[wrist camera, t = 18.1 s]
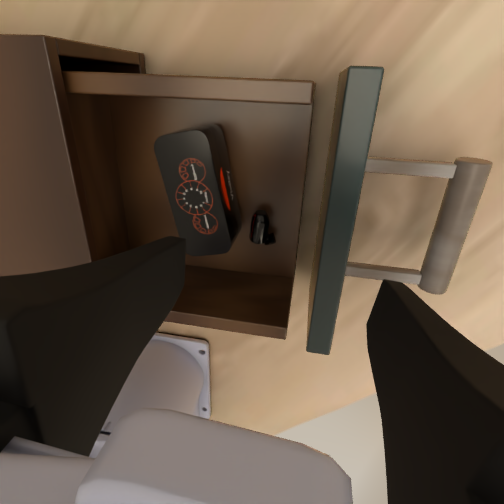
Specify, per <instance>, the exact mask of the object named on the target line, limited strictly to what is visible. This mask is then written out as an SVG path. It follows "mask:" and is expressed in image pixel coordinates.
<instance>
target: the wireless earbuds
mask: <svg viewBox="0 0 504 504" xmlns="http://www.w3.org/2000/svg"><path fill="white" fill-rule="evenodd" d="M154 152H155V155H156V158H157V162H158V165H159V169H160V172H161V176H162V179H163V182H164V186H165V189H166V193H167V196H168V200H169V203H170V206H171V210H172V213H173V217H174V220H175V224H176V227H177V230H178V234H179V237H180V238H184V239H186V253H187V254H189V255H191V256H206V255H219V254H225V253H227V252H228V251H229V250H230V249H231V247H232V245H233V243H234V242H235V240H236V238H237V236H238V234H239V232H240V231H241V228H242V222H241V217H240V212H239V207H238V202H237V197H236V192H235V187H234V182H233V177H232V172H231V167H230V163H229V158H228V153H227V148H226V143H225V138H224V134H223V131H222V129H221V128H220V127H219V126H217V125H215V124H207V125H202V126H196V127H191V128H186V129H181V130H178V131H175V132H172V133H168V134H165V135H162V136H160V137H158V138H157V139H156V141H155V143H154ZM269 224H270V220H269V216H268V214H267V213H266V211H264V210H256V211H255V213H254V214H253V215H252V218H251V225H250V233H249V239H250V241H251V242H253V243H255V244H263V243H264V244H265V245H271V244H274V243H276V239H275V235H274V233H270V234H268V230H269Z"/></svg>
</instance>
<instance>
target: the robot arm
mask: <svg viewBox="0 0 504 504" xmlns="http://www.w3.org/2000/svg"><path fill="white" fill-rule="evenodd" d="M185 256H186V239H184V238H179V237H174V236H167V237H164V238H161V239H158V240H155V241H153V242H150V243H147V244H145V245H142V246H139V247H136V248H134V249H131V250H128V251H125V252H122V253H119V254H116V255H113V256H110V257H107V258H104V259H101V260H97V261H94V262H90V263H86V264H81V265H77V266H73V267H68V268H62V269H56V270H50V271H44V272H38V273H29V274H20V275H9V276H0V504H353V500H352V487H351V478H350V477H349V476H348V475H347V474H346V473H345V472H344V470H343V469H342V468H341V467H340V466H339V465H338V464H337V463H336V462H335V461H334V459H333V458H331V457H330V456H329V455H327V454H325V453H322V452H320V451H318V450H316V449H313V448H311V447H309V446H307V445H305V444H302V443H298V442H294V441H291V440H287V439H283V438H279V437H275V436H272V435H268V434H264V433H260V432H256V431H252V430H248V429H245V428H241V427H237V426H233V425H229V424H225V423H221V422H217V421H214V420H210V419H209V418H210V416H211V400H210V365H209V344H208V343H207V342H206V341H204V340H199V339H193V338H187V337H180V336H174V335H168V334H162V333H156V331H157V330H158V329H159V327H160V326H161V324H162V323H163V321H164V320H165V318H166V317H167V316H168V314H169V313H170V311H171V310H172V308H173V307H174V305H175V303H176V301H177V299H178V297H179V295H180V293H181V291H182V289H183V287H184V282H185ZM366 325H367V345H368V353H369V358H370V363H371V368H372V373H373V378H374V382H375V387H376V392H377V396H378V401H379V406H380V412H381V418H382V427H383V438H384V449H385V462H386V476H387V494H388V504H504V365H503V364H501V363H500V362H498V361H497V360H496V359H494V358H493V357H491V356H490V355H488V354H487V353H486V352H484V351H483V350H481V349H480V348H479V347H477V346H476V345H474V344H473V343H472V342H471V341H469V340H468V339H467V338H465V337H464V336H463V335H462V334H460V333H459V332H458V331H457V330H456V329H454V328H453V327H452V326H451V325H450V324H448V323H447V322H446V321H445V320H444V319H443V318H441V317H440V316H439V315H438V314H437V313H436V312H435V311H434V310H433V309H431V308H430V307H429V306H428V305H427V304H426V303H425V302H424V301H423V300H422V299H421V298H419V297H418V296H417V295H416V294H415V293H414V292H413V291H412V290H411V289H409V288H408V287H407V286H406V285H405V284H403V283H402V282H397V281H392V280H387V279H383V282H382V284H381V287H380V290H379V292H378V295H377V298H376V300H375V303H374V306H373V308H372V311H371V314H370V316H369V319H368V322H367V324H366ZM202 350H204V351H202Z"/></svg>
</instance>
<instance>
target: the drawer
mask: <svg viewBox="0 0 504 504" xmlns="http://www.w3.org/2000/svg"><path fill="white" fill-rule="evenodd" d="M61 72H62V77H63V82H64V87H65V92H66V97H67V102H68V107H69V113H70V118H71V123H72V128H73V133H74V138H75V143H76V148H77V153H78V158H79V163H80V168H81V173H82V178H83V184H84V189H85V194H86V199H87V204H88V209H89V214H90V219H91V224H92V229H93V234H94V239H95V244H96V249H97V255H98V260H101V259H104V258H107V257H110V256H113V255H116V254H119V253H122V252H125V251H128V250H131V249H134V248H136V247H139V246H142V245H145V244H147V243H150V242H153V241H155V240H158V239H161V238H164V237H167V236H174V237H179V234H178V230H177V227H176V224H175V220H174V217H173V213H172V210H171V206H170V203H169V200H168V196H167V193H166V189H165V186H164V182H163V179H162V176H161V172H160V169H159V165H158V162H157V158H156V155H155V152H154V143H155V141H156V139H157V138H158V137H160V136H162V135H165V134H168V133H172V132H175V131H178V130H181V129H186V128H191V127H196V126H202V125H207V124H215V125H217V126H219V127H220V128H221V129H222V131H223V134H224V138H225V143H226V148H227V153H228V158H229V163H230V167H231V172H232V177H233V182H234V187H235V192H236V197H237V202H238V207H239V212H240V217H241V222H242V228H241V231H240V232H239V234H238V236H237V238H236V240H235V242H234V243H233V245H232V247H231V249H230V250H229V251H228V252H227V253H225V254H219V255H206V256H191V255H189V254H187V253H186V256H185V282H184V287H183V289H182V291H181V293H180V295H179V297H178V299H177V301H176V303H175V305H174V307H173V308H172V310H171V311H170V313H169V314H168V316H167V317H166V318H165V320H164V321H167V322H174V323H180V324H187V325H193V326H200V327H206V328H213V329H219V330H226V331H232V332H239V333H245V334H252V335H258V336H265V337H271V338H278V339H284V340H285V339H286V336H287V328H288V321H289V313H290V306H291V298H292V291H293V283H294V275H295V266H296V257H297V248H298V239H299V230H300V221H301V212H302V203H303V194H304V185H305V177H306V168H307V159H308V150H309V141H310V132H311V123H312V114H313V105H314V96H315V87H316V83H315V82H314V81H308V80H283V79H258V78H233V77H208V76H183V75H158V74H133V73H108V72H83V71H61ZM383 74H384V68H383V67H375V66H349V67H348V68H346V69H345V70H343V71H342V72H340V74H339V80H338V87H337V94H336V101H335V108H334V116H333V123H332V130H331V137H330V144H329V152H328V159H327V166H326V173H325V180H324V188H323V195H322V202H321V209H320V216H319V224H318V231H317V238H316V245H315V252H314V260H313V267H312V274H311V281H310V288H309V307H308V326H307V346H306V350H307V352H312V353H318V354H325V355H329V354H330V349H331V344H332V339H333V334H334V329H335V323H336V318H337V313H338V308H339V303H340V297H341V292H342V287H343V282H344V277H345V276H352V277H360V278H368V279H376V280H383V279H387V280H392V281H397V282H402V283H409V284H417V285H418V287H419V288H420V289H422V290H424V291H426V292H428V293H432V294H444V293H445V292H446V291H447V288H448V285H449V283H450V280H451V277H452V274H453V272H454V269H455V266H456V263H457V261H458V258H459V255H460V252H461V250H462V247H463V244H464V242H465V239H466V236H467V233H468V231H469V228H470V225H471V222H472V220H473V217H474V214H475V211H476V209H477V206H478V203H479V200H480V198H481V195H482V192H483V189H484V187H485V184H486V181H487V178H488V176H489V173H490V170H491V167H492V165H493V164H492V162H490V161H487V160H483V159H477V158H468V157H460V158H456V159H455V162H454V163H452V162H438V161H424V160H410V159H396V158H382V157H368V152H369V147H370V142H371V136H372V131H373V126H374V121H375V116H376V110H377V105H378V100H379V95H380V90H381V84H382V79H383ZM365 172H374V173H386V174H399V175H412V176H425V177H438V178H449V181H448V184H447V187H446V191H445V194H444V197H443V200H442V203H441V207H440V210H439V213H438V216H437V219H436V223H435V226H434V229H433V232H432V236H431V239H430V242H429V245H428V248H427V252H426V255H425V258H424V261H423V264H422V268H421V271H419V270H414V269H406V268H397V267H388V266H380V265H371V264H363V263H354V262H347V261H348V256H349V251H350V245H351V240H352V235H353V230H354V225H355V219H356V214H357V209H358V204H359V199H360V193H361V188H362V183H363V178H364V173H365ZM256 210H264V211H266V213H267V214H268V216H269V220H270V224H269V230H268V234H270V233H274V235H275V239H276V243H274V244H271V245H265V244H264V243H263V244H255V243H253V242H251V241H250V239H249V233H250V225H251V218H252V215H253V214H254V213H255V211H256ZM179 238H180V237H179Z"/></svg>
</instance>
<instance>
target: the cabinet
mask: <svg viewBox="0 0 504 504" xmlns="http://www.w3.org/2000/svg"><path fill="white" fill-rule="evenodd" d="M61 71H83V72H108V73H133V74H146V73H145V62H144V54H143V53H137V52H132V51H127V50H121V49H116V48H110V47H105V46H100V45H94V44H89V43H83V42H78V41H73V40H67V39H62V38H56V37H51V36H45V35H16V34H0V276H9V275H20V274H29V273H38V272H44V271H50V270H56V269H62V268H68V267H73V266H77V265H81V264H86V263H90V262H94V261H97V260H98V255H97V249H96V244H95V239H94V234H93V229H92V224H91V219H90V214H89V209H88V204H87V199H86V194H85V189H84V184H83V178H82V173H81V168H80V163H79V158H78V153H77V148H76V143H75V138H74V133H73V128H72V123H71V118H70V113H69V107H68V102H67V97H66V92H65V87H64V82H63V77H62V72H61Z"/></svg>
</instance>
